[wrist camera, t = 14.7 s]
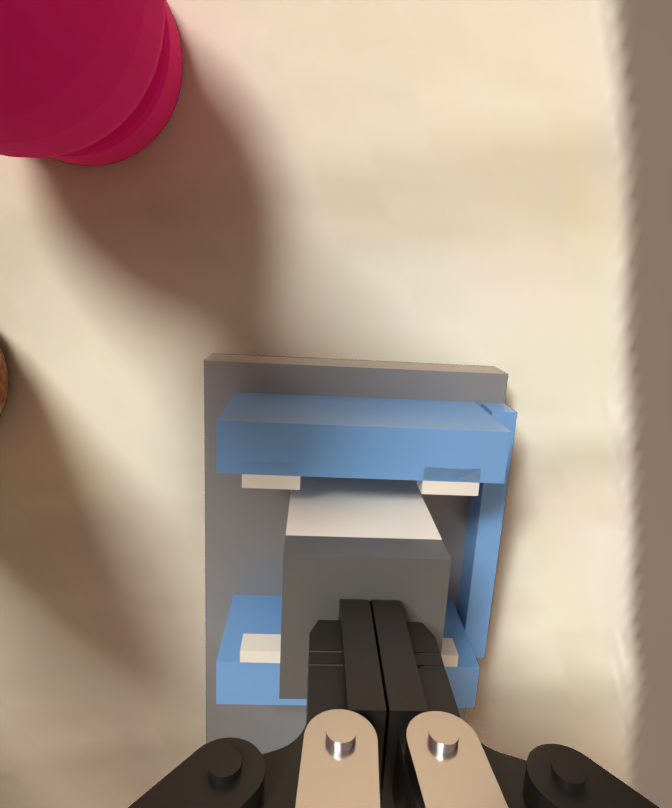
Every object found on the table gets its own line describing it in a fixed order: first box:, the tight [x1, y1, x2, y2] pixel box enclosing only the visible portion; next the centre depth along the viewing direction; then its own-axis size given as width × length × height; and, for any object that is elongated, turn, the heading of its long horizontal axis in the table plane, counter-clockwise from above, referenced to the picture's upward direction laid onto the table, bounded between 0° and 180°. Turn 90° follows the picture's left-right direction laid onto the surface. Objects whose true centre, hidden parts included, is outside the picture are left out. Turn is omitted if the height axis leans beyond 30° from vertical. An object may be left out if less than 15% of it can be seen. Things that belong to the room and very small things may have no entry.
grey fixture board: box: [204, 354, 517, 808], centre depth 20 cm, size 10×26×5 cm, turn 177°
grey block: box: [279, 476, 451, 699], centre depth 16 cm, size 4×4×6 cm
